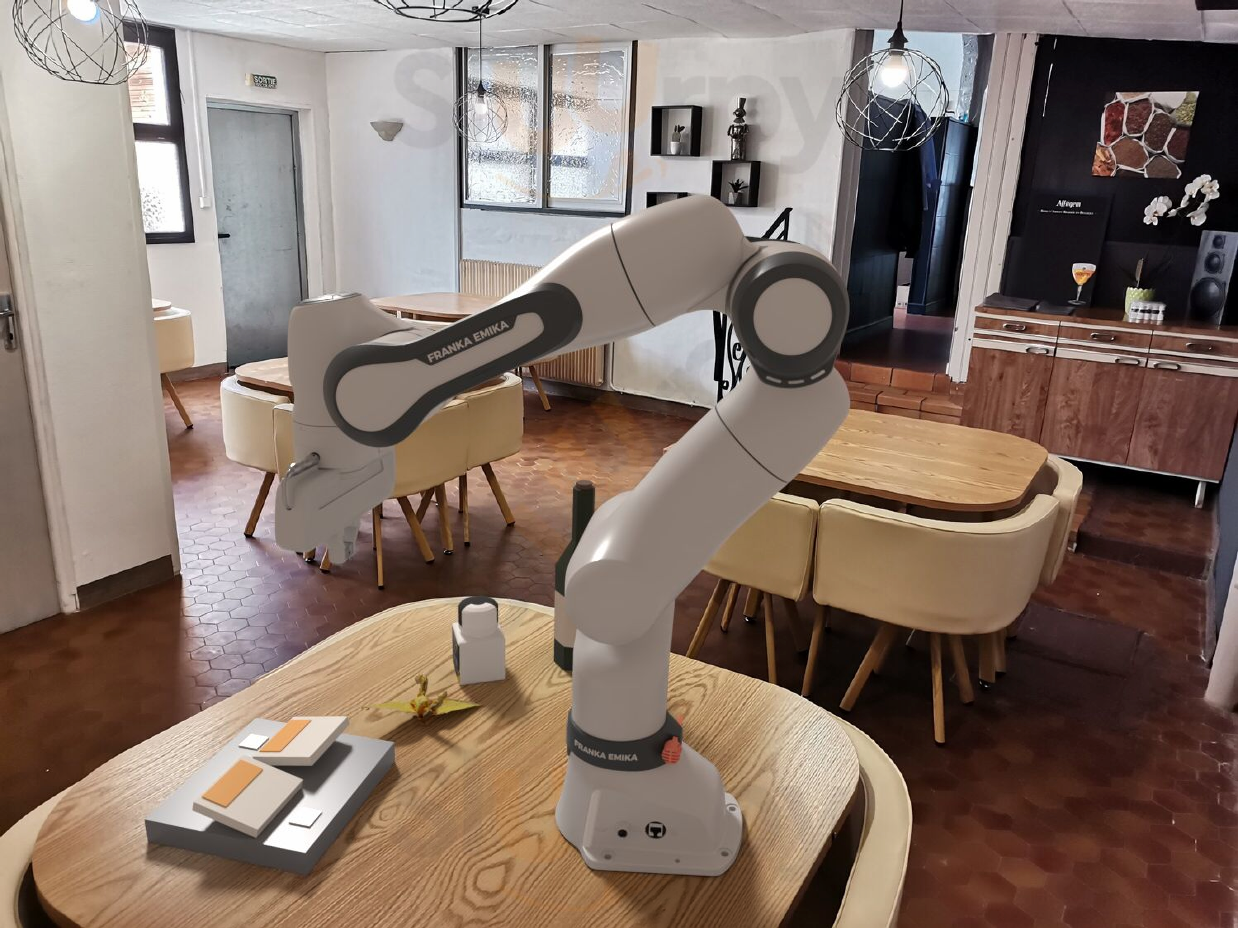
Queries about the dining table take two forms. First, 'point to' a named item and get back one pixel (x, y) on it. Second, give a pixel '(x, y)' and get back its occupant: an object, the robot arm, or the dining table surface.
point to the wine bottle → (562, 622)
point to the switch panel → (303, 820)
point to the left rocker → (248, 795)
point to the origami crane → (425, 703)
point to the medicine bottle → (478, 642)
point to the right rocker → (302, 740)
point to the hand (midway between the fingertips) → (342, 558)
